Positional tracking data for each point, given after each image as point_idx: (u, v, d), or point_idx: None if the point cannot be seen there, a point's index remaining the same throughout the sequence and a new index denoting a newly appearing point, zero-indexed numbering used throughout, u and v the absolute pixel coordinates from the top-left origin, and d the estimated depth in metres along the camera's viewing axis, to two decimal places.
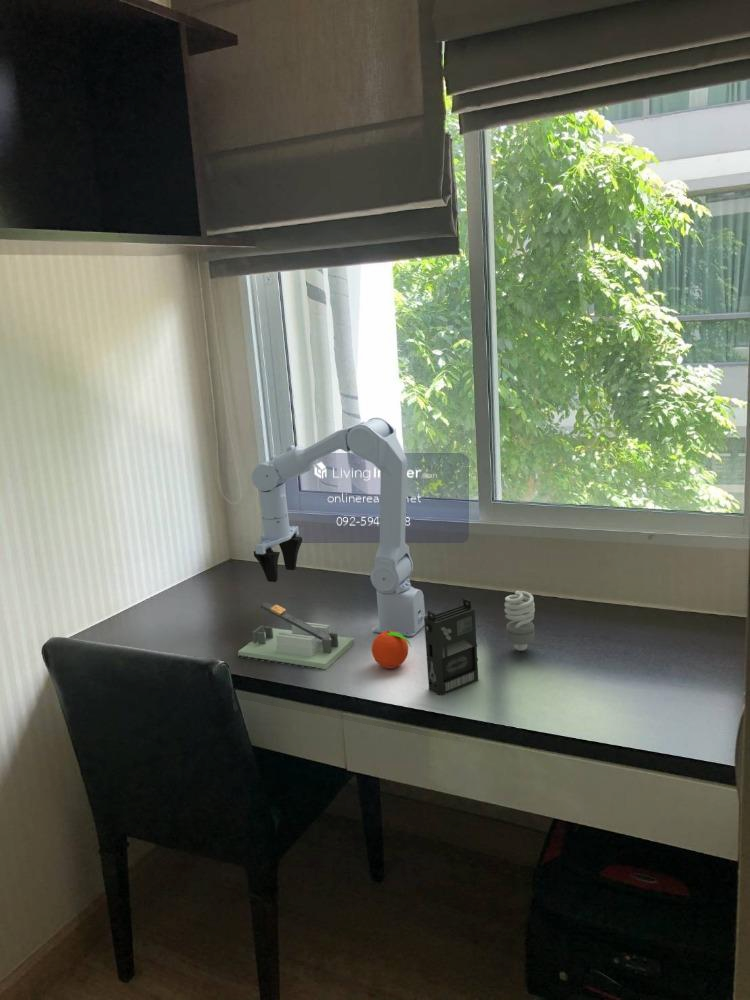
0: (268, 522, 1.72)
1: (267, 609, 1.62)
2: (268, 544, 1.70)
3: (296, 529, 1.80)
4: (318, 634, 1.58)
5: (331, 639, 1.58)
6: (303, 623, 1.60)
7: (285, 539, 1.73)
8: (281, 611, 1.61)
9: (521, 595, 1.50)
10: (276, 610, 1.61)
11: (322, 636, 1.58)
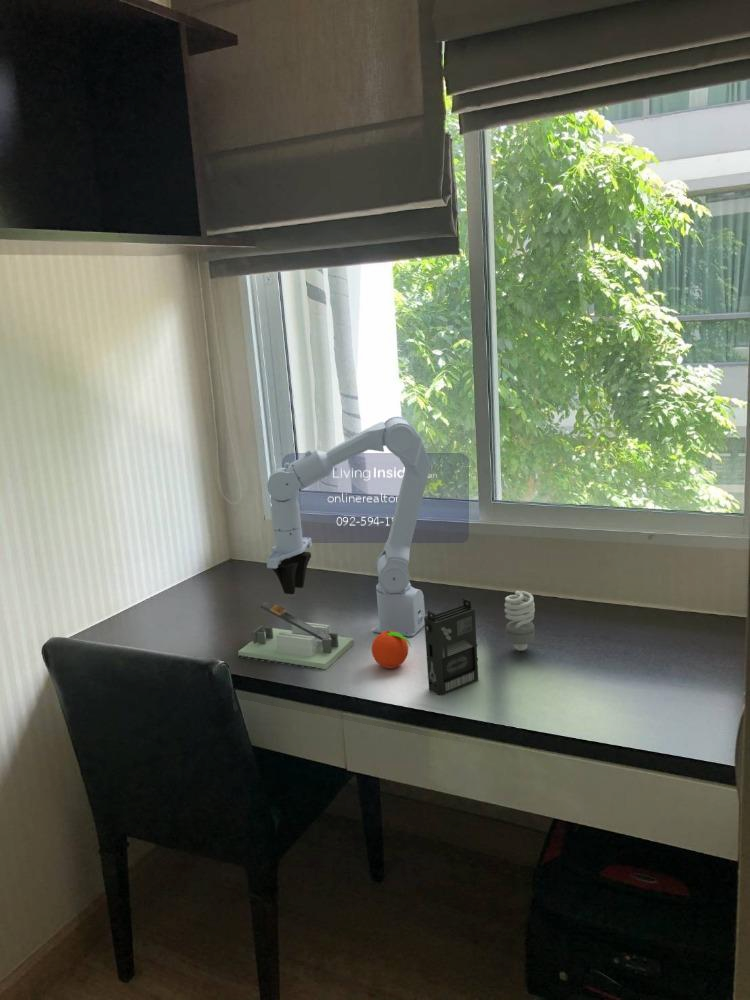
0: (280, 534, 1.61)
1: (267, 609, 1.62)
2: (280, 558, 1.59)
3: (309, 541, 1.69)
4: (318, 634, 1.58)
5: (331, 639, 1.58)
6: (303, 623, 1.60)
7: (298, 552, 1.62)
8: (281, 611, 1.61)
9: (521, 595, 1.50)
10: (276, 610, 1.61)
11: (322, 636, 1.58)
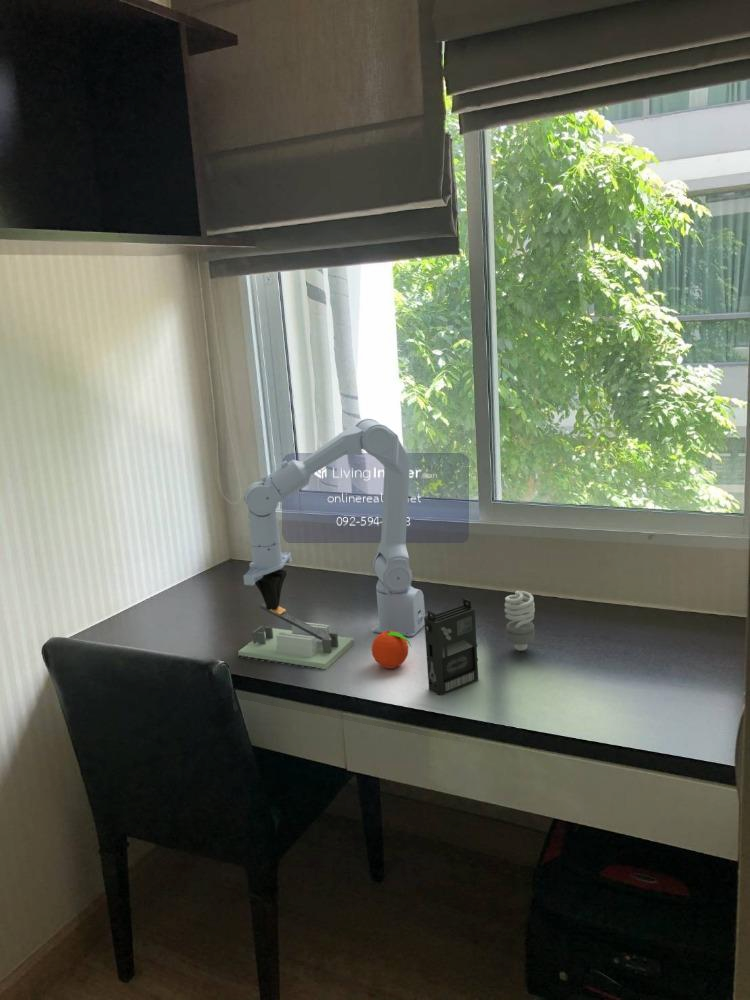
0: (258, 550, 1.56)
1: (267, 609, 1.62)
2: (258, 574, 1.55)
3: (289, 556, 1.65)
4: (318, 634, 1.58)
5: (331, 639, 1.58)
6: (303, 623, 1.60)
7: (276, 568, 1.58)
8: (281, 611, 1.61)
9: (521, 595, 1.50)
10: (276, 610, 1.61)
11: (322, 636, 1.58)
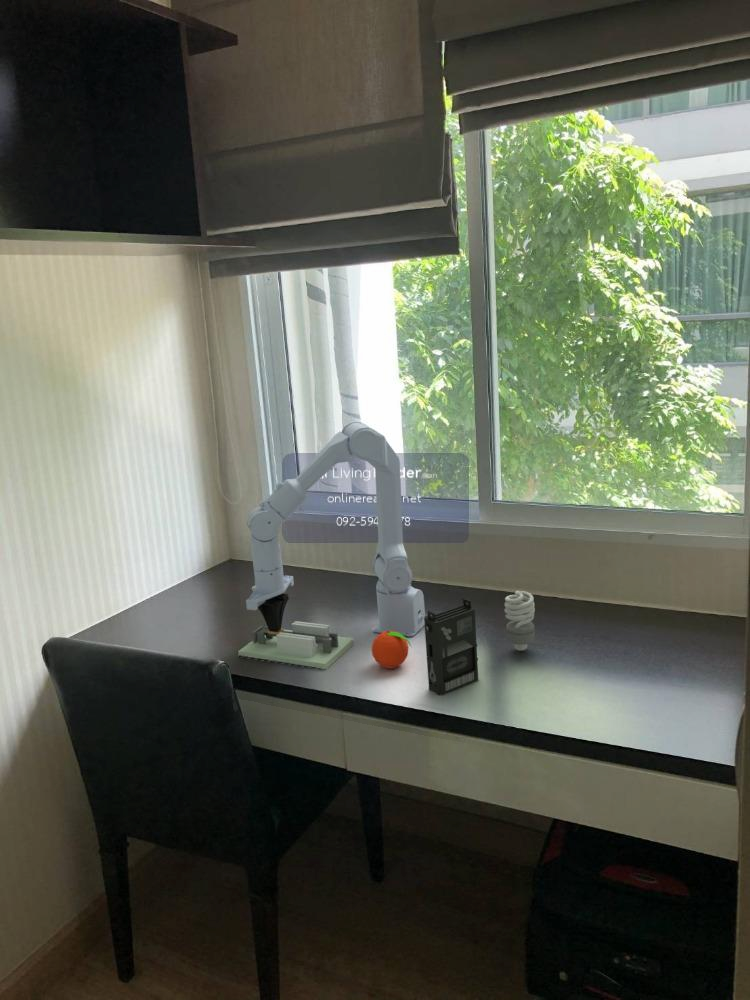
0: (260, 574, 1.58)
1: (266, 633, 1.64)
2: (260, 599, 1.56)
3: (291, 579, 1.66)
4: (317, 638, 1.59)
5: (330, 638, 1.58)
6: (302, 634, 1.61)
7: (279, 593, 1.59)
8: None
9: (521, 595, 1.50)
10: (273, 631, 1.63)
11: (321, 639, 1.58)
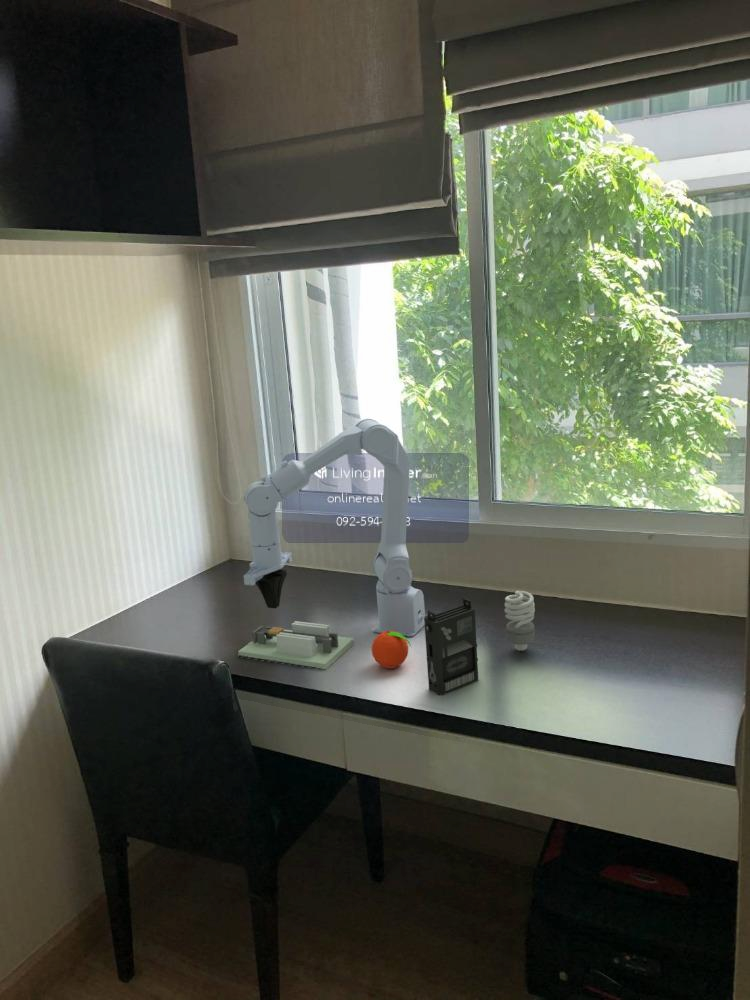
0: (258, 550, 1.56)
1: (266, 633, 1.64)
2: (258, 574, 1.55)
3: (289, 556, 1.65)
4: (317, 638, 1.59)
5: (330, 638, 1.58)
6: (302, 634, 1.61)
7: (277, 568, 1.58)
8: (278, 630, 1.63)
9: (521, 595, 1.50)
10: (273, 631, 1.63)
11: (321, 639, 1.58)
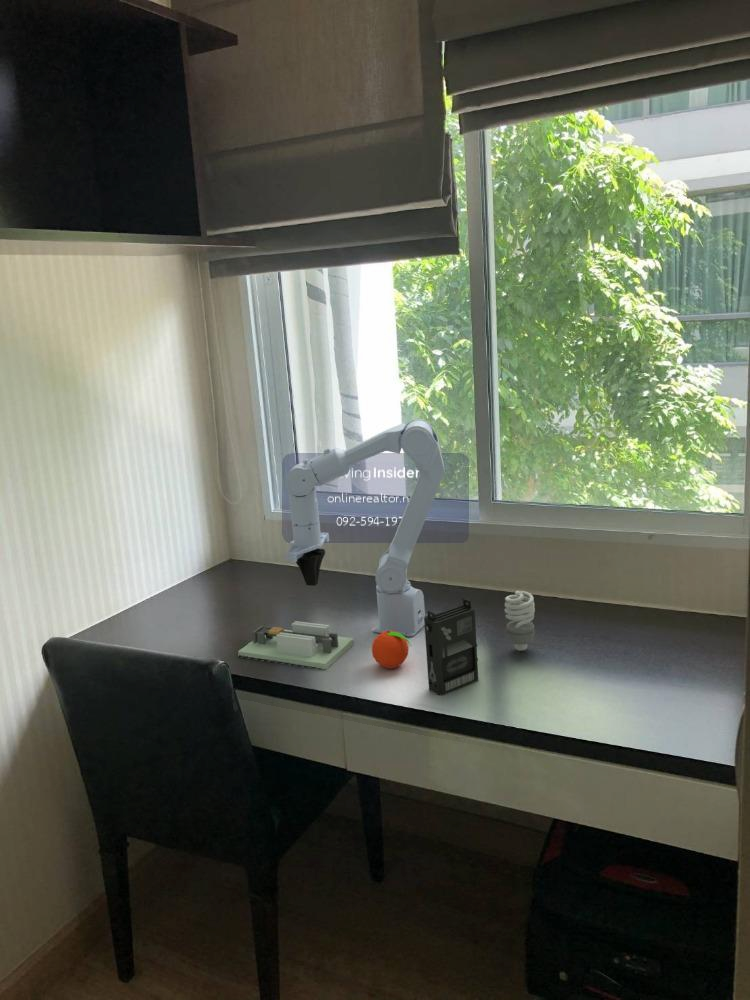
0: (299, 529, 1.63)
1: (266, 633, 1.64)
2: (299, 552, 1.61)
3: (326, 536, 1.72)
4: (317, 638, 1.59)
5: (330, 638, 1.58)
6: (302, 634, 1.61)
7: (316, 547, 1.64)
8: (278, 630, 1.63)
9: (521, 595, 1.50)
10: (273, 631, 1.63)
11: (321, 639, 1.58)
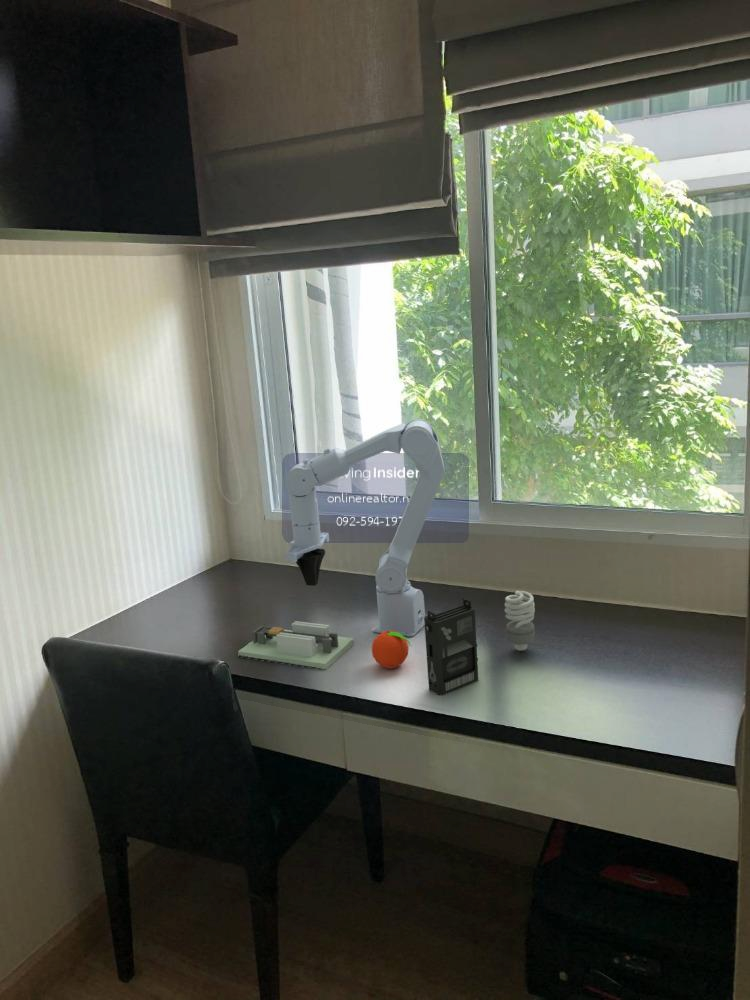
0: (299, 529, 1.63)
1: (266, 633, 1.64)
2: (299, 552, 1.61)
3: (326, 536, 1.72)
4: (317, 638, 1.59)
5: (330, 638, 1.58)
6: (302, 634, 1.61)
7: (316, 547, 1.64)
8: (278, 630, 1.63)
9: (521, 595, 1.50)
10: (273, 631, 1.63)
11: (321, 639, 1.58)
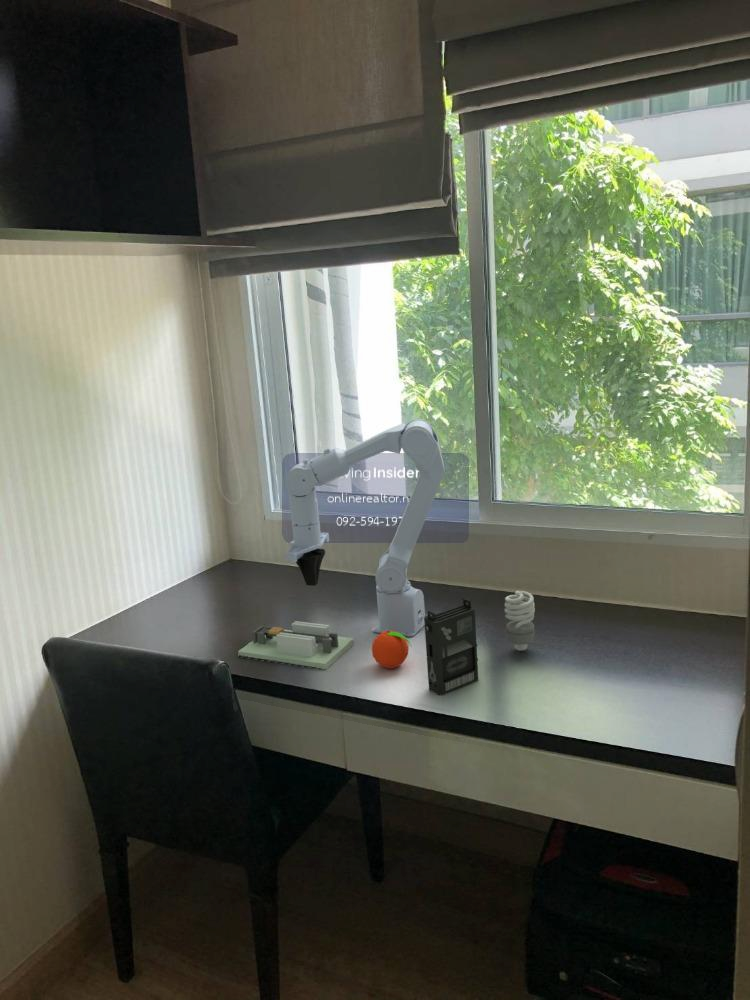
0: (299, 529, 1.63)
1: (266, 633, 1.64)
2: (299, 552, 1.61)
3: (326, 536, 1.72)
4: (317, 638, 1.59)
5: (330, 638, 1.58)
6: (302, 634, 1.61)
7: (316, 547, 1.64)
8: (278, 630, 1.63)
9: (521, 595, 1.50)
10: (273, 631, 1.63)
11: (321, 639, 1.58)
